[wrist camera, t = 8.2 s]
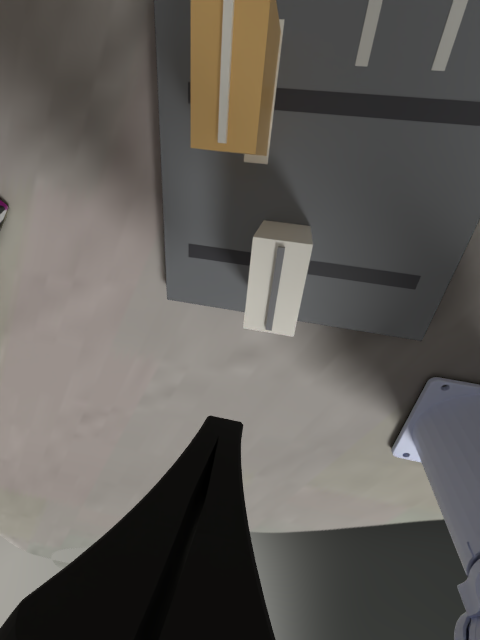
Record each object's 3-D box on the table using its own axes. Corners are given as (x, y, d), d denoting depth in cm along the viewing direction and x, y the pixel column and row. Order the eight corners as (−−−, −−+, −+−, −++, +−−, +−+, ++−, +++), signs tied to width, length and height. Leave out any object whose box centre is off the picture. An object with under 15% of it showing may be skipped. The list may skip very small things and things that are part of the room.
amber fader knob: (280, 31, 12) (272, -27, 8) (266, 155, 14) (254, 154, 11) (222, 28, 12) (188, -29, 9) (217, 151, 14) (188, 147, 11)
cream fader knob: (310, 226, 15) (313, 245, 12) (295, 302, 17) (293, 338, 14) (263, 220, 16) (252, 238, 12) (254, 295, 18) (242, 330, 14)
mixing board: (567, -7, 11) (596, -26, 10) (414, 330, 18) (421, 341, 17) (164, -18, 13) (151, -34, 12) (173, 292, 20) (166, 299, 19)
